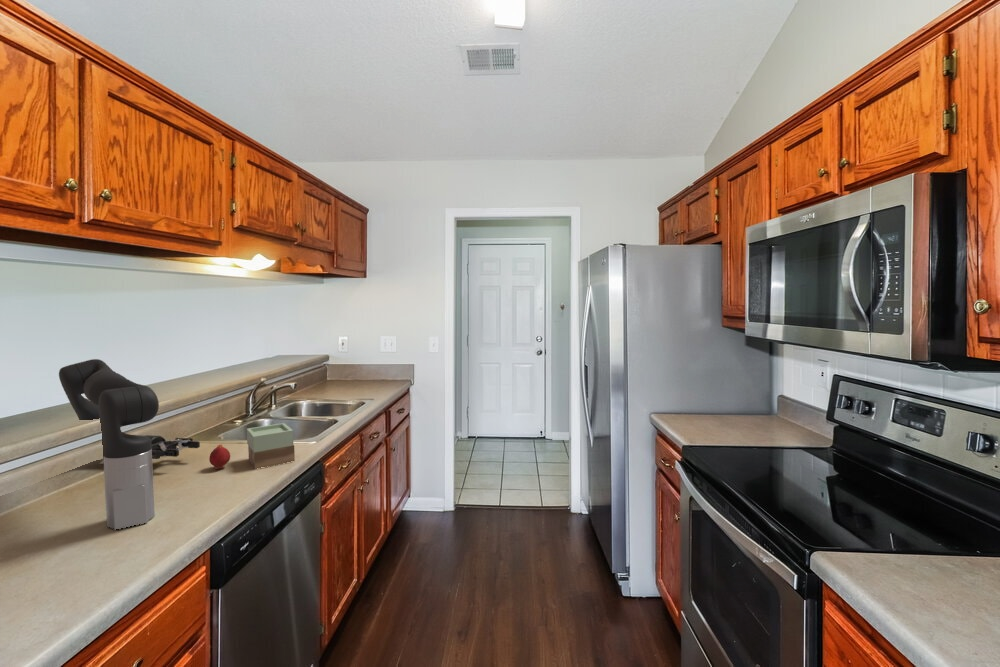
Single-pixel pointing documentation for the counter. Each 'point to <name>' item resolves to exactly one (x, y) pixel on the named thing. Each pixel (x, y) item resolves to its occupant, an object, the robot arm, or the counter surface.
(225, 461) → the onion
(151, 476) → the robot arm
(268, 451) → the tower base
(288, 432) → the tower top
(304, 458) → the counter surface
